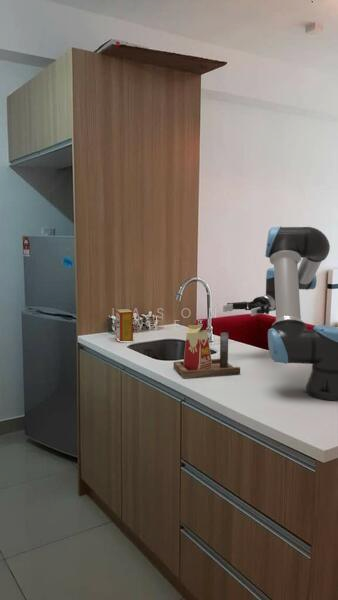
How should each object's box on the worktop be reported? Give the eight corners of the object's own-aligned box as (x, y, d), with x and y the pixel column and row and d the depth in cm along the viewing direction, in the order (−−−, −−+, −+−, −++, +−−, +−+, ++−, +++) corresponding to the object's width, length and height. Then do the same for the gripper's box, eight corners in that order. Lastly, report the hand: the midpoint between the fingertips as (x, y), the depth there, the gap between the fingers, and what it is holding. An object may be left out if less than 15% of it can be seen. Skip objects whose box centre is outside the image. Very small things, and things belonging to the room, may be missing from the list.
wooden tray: (240, 374, 190) (241, 336, 187) (183, 378, 184) (184, 339, 182) (226, 364, 204) (226, 329, 202) (173, 367, 198) (173, 331, 196)
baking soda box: (132, 342, 245) (132, 311, 243) (120, 343, 243) (120, 311, 241) (128, 338, 254) (127, 308, 252) (116, 339, 252) (115, 308, 250)
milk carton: (212, 371, 193) (213, 322, 190) (198, 376, 187) (198, 325, 184) (195, 367, 199) (196, 319, 197) (180, 372, 193) (180, 322, 190)
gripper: (288, 316, 209) (263, 323, 193) (239, 309, 225) (212, 316, 209) (289, 298, 208) (264, 304, 192) (239, 293, 224) (212, 298, 208)
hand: (237, 310), depth 200 cm, fingers open, 13 cm apart
